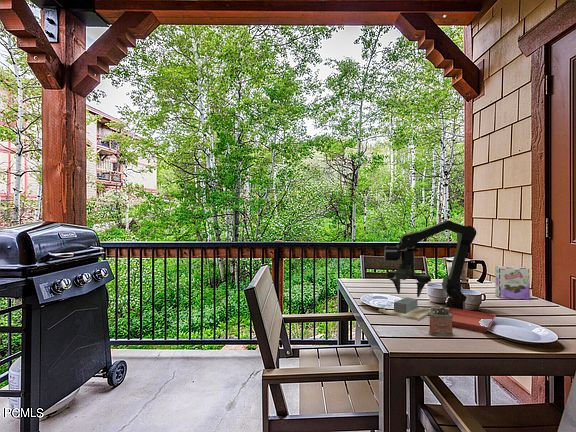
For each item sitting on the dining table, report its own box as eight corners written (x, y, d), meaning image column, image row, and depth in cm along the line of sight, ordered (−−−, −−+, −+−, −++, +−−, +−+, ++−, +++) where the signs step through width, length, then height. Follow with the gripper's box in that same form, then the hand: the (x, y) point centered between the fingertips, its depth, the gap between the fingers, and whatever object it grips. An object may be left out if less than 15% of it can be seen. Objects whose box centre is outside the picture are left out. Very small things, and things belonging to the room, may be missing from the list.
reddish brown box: (450, 333, 112) (450, 305, 112) (454, 336, 109) (454, 308, 109) (427, 332, 113) (427, 305, 113) (431, 336, 109) (430, 308, 109)
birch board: (432, 312, 137) (432, 310, 138) (418, 320, 126) (418, 318, 126) (394, 304, 150) (394, 302, 150) (378, 311, 139) (378, 309, 139)
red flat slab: (489, 336, 110) (489, 326, 110) (435, 325, 122) (435, 316, 122) (496, 323, 124) (496, 314, 124) (447, 314, 135) (447, 307, 135)
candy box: (499, 298, 161) (498, 267, 161) (495, 295, 167) (494, 265, 167) (530, 300, 157) (529, 268, 157) (525, 297, 163) (524, 266, 163)
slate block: (417, 299, 141) (404, 304, 132) (417, 307, 141) (404, 313, 132) (406, 297, 145) (393, 302, 136) (407, 305, 145) (393, 311, 136)
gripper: (380, 261, 142) (380, 294, 142) (420, 265, 128) (421, 302, 128) (392, 259, 150) (392, 291, 149) (431, 262, 136) (431, 297, 136)
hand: (408, 295), depth 140 cm, fingers open, 9 cm apart
